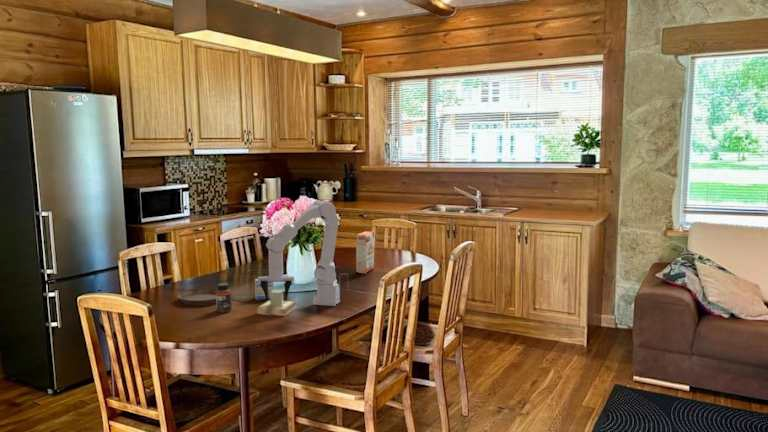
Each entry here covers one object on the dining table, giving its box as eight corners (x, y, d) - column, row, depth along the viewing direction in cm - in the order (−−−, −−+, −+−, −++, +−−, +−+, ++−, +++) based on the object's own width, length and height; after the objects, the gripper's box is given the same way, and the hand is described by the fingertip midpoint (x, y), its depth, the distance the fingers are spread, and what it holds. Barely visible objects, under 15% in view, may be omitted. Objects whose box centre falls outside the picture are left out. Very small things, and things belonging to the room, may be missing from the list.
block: (283, 302, 241) (283, 290, 241) (281, 305, 237) (281, 292, 236) (272, 303, 241) (272, 290, 240) (270, 306, 237) (270, 292, 236)
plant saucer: (237, 298, 258) (236, 291, 258) (200, 309, 241) (200, 302, 240) (204, 292, 269) (204, 285, 268) (167, 303, 251) (167, 295, 251)
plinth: (296, 307, 244) (295, 301, 243) (285, 315, 232) (285, 309, 232) (269, 305, 246) (269, 299, 246) (257, 313, 235) (257, 307, 234)
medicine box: (255, 300, 255) (255, 280, 254) (255, 297, 259) (254, 278, 258) (273, 298, 257) (273, 279, 256) (273, 296, 261) (272, 277, 260)
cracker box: (366, 274, 303) (366, 235, 301) (355, 274, 305) (355, 234, 302) (374, 269, 317) (374, 231, 314) (364, 268, 318) (364, 230, 316)
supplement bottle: (225, 308, 243) (225, 281, 241) (234, 310, 239) (233, 283, 238) (213, 311, 238) (212, 284, 237) (222, 314, 234) (221, 286, 233)
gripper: (295, 264, 241) (295, 296, 243) (259, 264, 241) (260, 296, 242) (292, 268, 234) (293, 300, 236) (256, 268, 234) (257, 301, 235)
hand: (276, 299), depth 238 cm, fingers open, 7 cm apart
